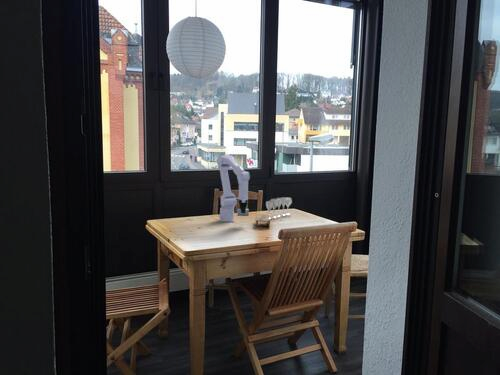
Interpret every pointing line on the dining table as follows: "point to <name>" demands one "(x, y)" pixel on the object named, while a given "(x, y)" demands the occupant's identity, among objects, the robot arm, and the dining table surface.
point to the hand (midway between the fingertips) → (243, 212)
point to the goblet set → (278, 204)
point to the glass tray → (243, 213)
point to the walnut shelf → (262, 219)
